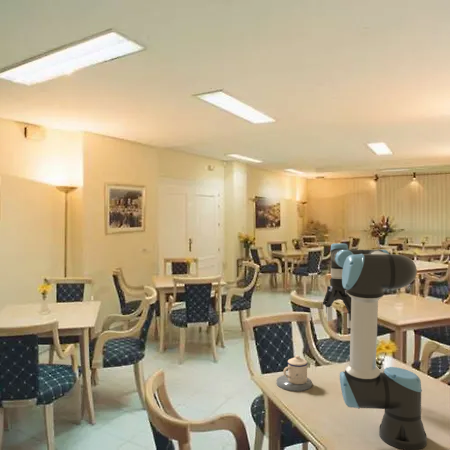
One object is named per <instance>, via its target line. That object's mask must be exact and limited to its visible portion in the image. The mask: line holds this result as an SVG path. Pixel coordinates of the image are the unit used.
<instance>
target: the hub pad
mask: <svg viewBox="0 0 450 450" xmlns="http://www.w3.org/2000/svg"><path fill="white" fill-rule="evenodd" d="M286 375H287V376H288V374H286ZM276 385H277V387H278V388H280V389H283V390H285V391H289V392H304V391H308V390H309V389H311V388H312V386H313V381H312V379H310V378H309V377H307V382H306V383H305V384H293V383H291V382H289V381H288V378H287V377H285V376H284V374H283V375H280V376H279V377H277V378H276Z"/></svg>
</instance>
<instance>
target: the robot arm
mask: <svg viewBox="0 0 450 450" xmlns="http://www.w3.org/2000/svg"><path fill="white" fill-rule="evenodd" d="M329 251H330V252H329V253H330V277H331V278H330V285H327V288H326V293H325V295H324V298H323V301H322V305H324V306H325V313H326V322H332V321H333V306H332V305H333V303H334V302H335V301H336V299H337V298H338V299H340V300H341V301H342V302H343V304H344V306H345V308H346V310H347V313H346V316H347V317H346V320H347V321H346V323H347V324H346V325H347V326H346V328H347V329H350V332H349V333H350V337H349V338H350V341H349V362H348V363H346V364H345V366H344V371H341V372H339V383H340V390H341V394H342V397H343V401H344V404H345V406H347V408H355V409H375V410H376V409H379V410H384V412H383V416H382V419H381V423H380V425H379V426H378V435H379V437H380V439H381V440H382V441H383V442H384V443H386V444H388V445H389V446H392V447H394V448H397V449H401V450H422V449H423V448H425V447H426V446H427V444H428V443H427V442H428V441H427V440H428V437H427V433H426V431H425V427H424V424H423V420H422V392H423V389H422V380H421V379H420V377H419V375H417V374H416V373H414V372H413V371H411V370H408V369H405V368H403V367H402V368H401V367H397V366H388V367H384V369H385V370H384V373H380V370H379V368H378V367H376V365H377V342H378V341H377V339H378V316H379V313H378V311H379V301H380V299H382V298H383V297H384V290H399V289H403V288H405V287H407V286H409V285H410V284H411V283H413V282H414V280H415V278H416V276H417V273H418V272H417V271H418V269H417V266H416V264H415V261H414V260H413V259H411V258H410V257H408V256H405V255H402V254H394V253H389V251H388V249H387V250H386V249H349V246H348V244H347V243H342V242H341V243H332V244H331V245H330V250H329Z"/></svg>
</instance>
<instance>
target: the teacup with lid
mask: <svg viewBox="0 0 450 450" xmlns="http://www.w3.org/2000/svg"><path fill="white" fill-rule="evenodd" d="M308 364H309V363H308V361H307V359H305V358H302V357H301V356H300V355H298V354H296V355H295V357H292V358H289V359H288V360H287V366H285V367H284V369H283V371H282V373H283V375H284V376H285V377H287V378H288V381H289V382H291V383H293V384H305V383H306V382H307V378H308ZM287 375H288V376H287Z"/></svg>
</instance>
